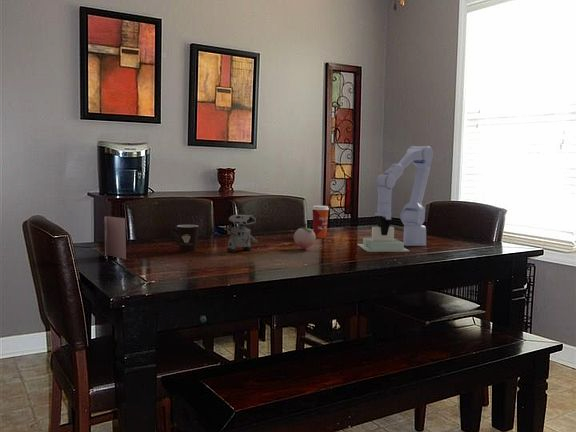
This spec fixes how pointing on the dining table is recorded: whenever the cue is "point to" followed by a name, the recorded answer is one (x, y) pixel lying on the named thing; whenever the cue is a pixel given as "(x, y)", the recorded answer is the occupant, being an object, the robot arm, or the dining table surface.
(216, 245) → the dining table surface
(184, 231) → the coffee mug
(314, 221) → the coffee cup
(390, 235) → the tile plate
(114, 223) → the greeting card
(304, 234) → the decorative fruit
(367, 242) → the dish rack
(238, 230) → the figurine
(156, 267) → the dining table surface
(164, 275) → the dining table surface
